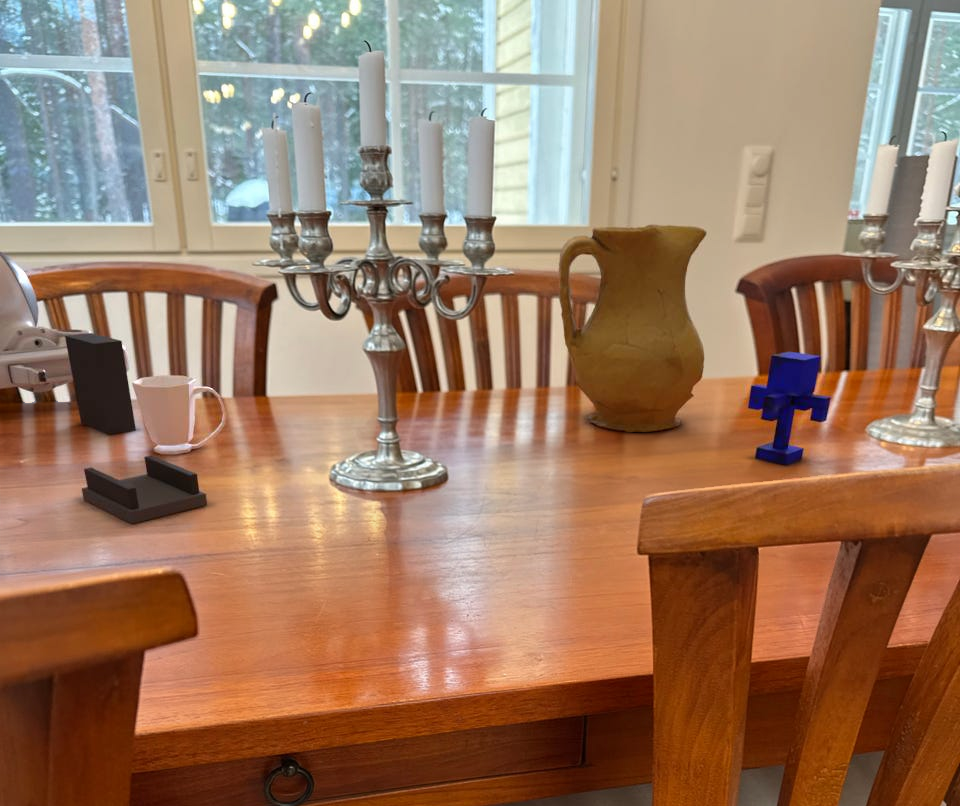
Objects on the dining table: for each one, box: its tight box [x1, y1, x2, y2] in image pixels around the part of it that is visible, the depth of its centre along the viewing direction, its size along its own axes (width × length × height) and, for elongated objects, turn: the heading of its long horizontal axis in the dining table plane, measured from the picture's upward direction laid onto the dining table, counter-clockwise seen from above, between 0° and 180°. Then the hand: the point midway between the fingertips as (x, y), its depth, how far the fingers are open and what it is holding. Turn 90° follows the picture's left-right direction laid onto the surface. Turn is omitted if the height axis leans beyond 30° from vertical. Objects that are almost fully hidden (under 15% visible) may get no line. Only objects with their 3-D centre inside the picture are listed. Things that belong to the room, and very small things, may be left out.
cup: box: [131, 374, 227, 455], centre depth 105 cm, size 7×10×8 cm
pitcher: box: [558, 223, 707, 433], centre depth 118 cm, size 17×19×25 cm
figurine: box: [747, 351, 832, 466], centre depth 105 cm, size 8×8×12 cm
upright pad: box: [65, 332, 137, 436], centre depth 113 cm, size 4×8×11 cm, turn 47°
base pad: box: [81, 455, 208, 525], centre depth 89 cm, size 8×10×3 cm
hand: (76, 372), depth 117 cm, fingers open, 8 cm apart
